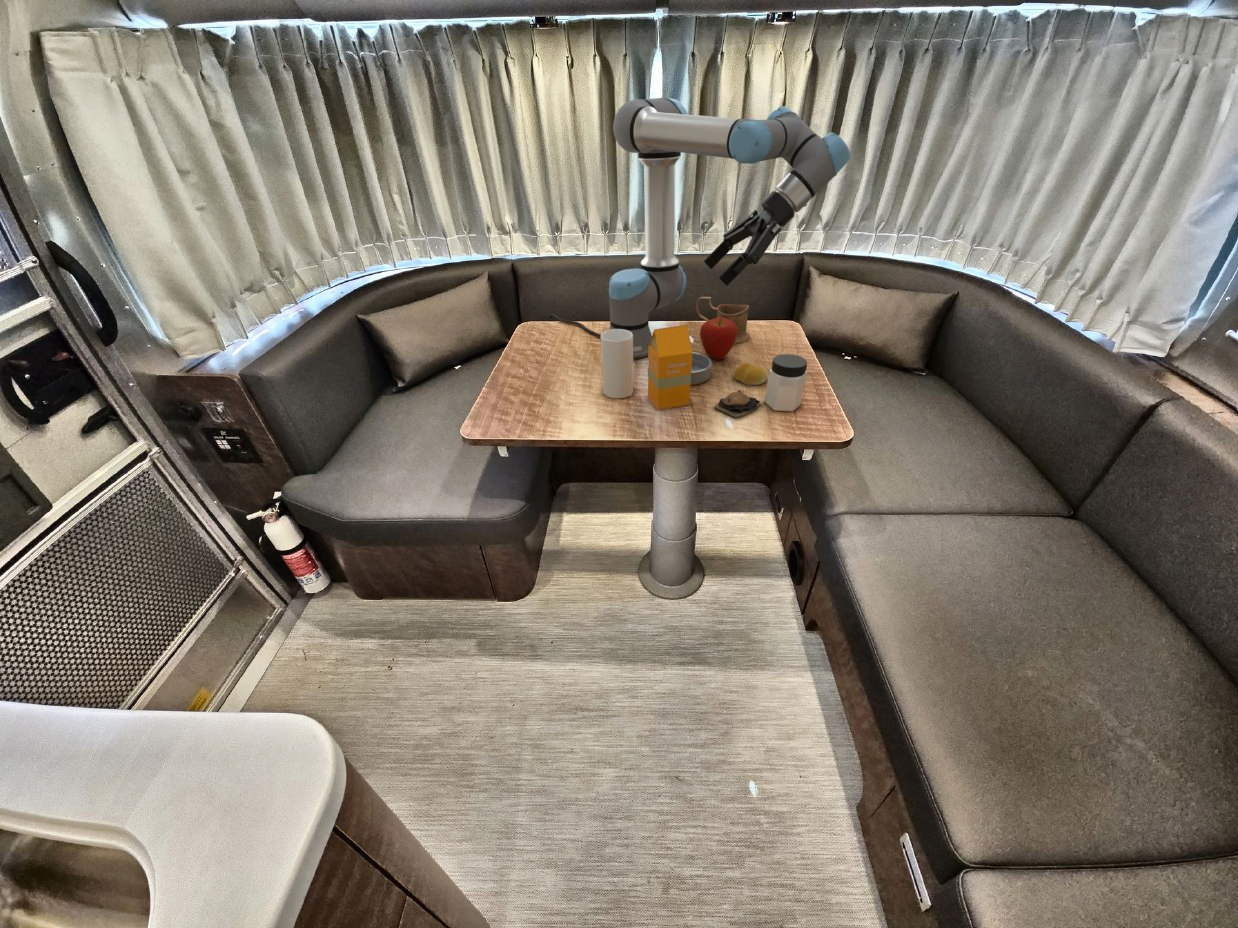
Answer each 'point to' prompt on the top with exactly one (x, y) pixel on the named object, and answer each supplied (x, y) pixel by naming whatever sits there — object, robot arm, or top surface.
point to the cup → (617, 363)
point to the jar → (786, 382)
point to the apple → (718, 337)
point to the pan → (700, 368)
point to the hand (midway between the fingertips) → (714, 273)
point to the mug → (731, 317)
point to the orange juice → (669, 367)
